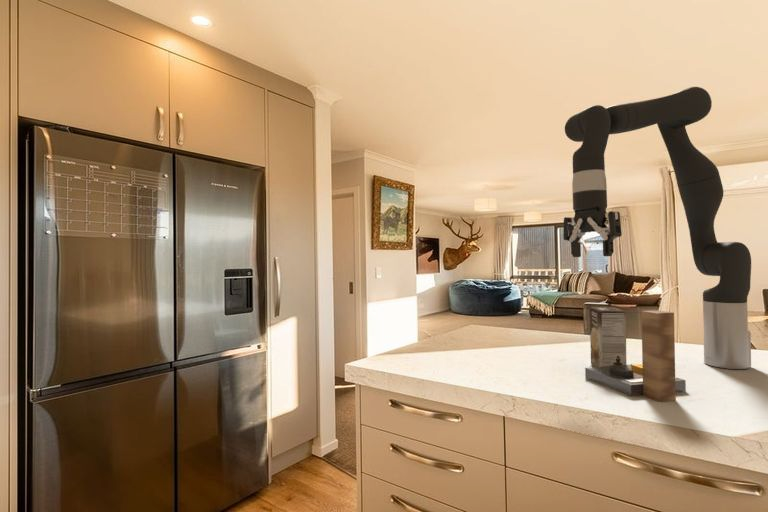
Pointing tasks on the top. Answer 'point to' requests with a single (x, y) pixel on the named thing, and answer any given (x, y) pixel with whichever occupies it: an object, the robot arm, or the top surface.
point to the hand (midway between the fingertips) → (591, 256)
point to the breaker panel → (624, 378)
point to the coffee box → (607, 336)
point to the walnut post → (658, 355)
